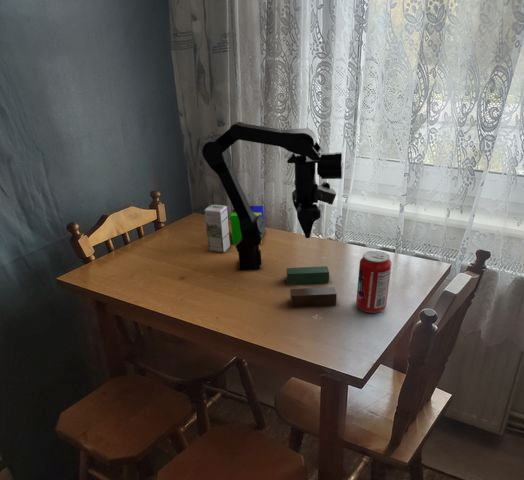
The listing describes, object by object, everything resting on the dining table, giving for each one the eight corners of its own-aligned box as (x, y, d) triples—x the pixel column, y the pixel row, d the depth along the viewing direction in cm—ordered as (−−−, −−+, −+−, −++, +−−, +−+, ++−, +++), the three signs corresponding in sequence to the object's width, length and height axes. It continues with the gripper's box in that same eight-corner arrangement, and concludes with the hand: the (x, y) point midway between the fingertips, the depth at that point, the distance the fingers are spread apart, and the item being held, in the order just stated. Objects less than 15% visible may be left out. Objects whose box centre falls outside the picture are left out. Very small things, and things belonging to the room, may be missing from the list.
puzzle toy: (264, 233, 177) (263, 206, 171) (261, 244, 168) (260, 216, 163) (236, 232, 178) (234, 205, 172) (232, 243, 169) (230, 215, 164)
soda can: (379, 318, 126) (385, 265, 118) (351, 310, 130) (355, 258, 122) (390, 304, 132) (396, 253, 124) (362, 297, 135) (367, 247, 127)
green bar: (287, 284, 143) (287, 274, 141) (286, 278, 146) (286, 267, 145) (328, 282, 143) (329, 272, 141) (326, 276, 147) (327, 266, 145)
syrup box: (230, 246, 168) (227, 204, 160) (223, 253, 163) (220, 211, 155) (215, 244, 169) (211, 203, 161) (208, 251, 165) (203, 209, 157)
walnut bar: (291, 307, 132) (291, 296, 130) (290, 300, 136) (290, 288, 134) (335, 305, 132) (336, 293, 131) (333, 298, 136) (334, 286, 134)
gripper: (340, 186, 128) (338, 242, 137) (329, 167, 144) (328, 219, 152) (297, 189, 128) (298, 245, 137) (291, 170, 144) (292, 221, 152)
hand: (305, 232), depth 144 cm, fingers open, 9 cm apart
